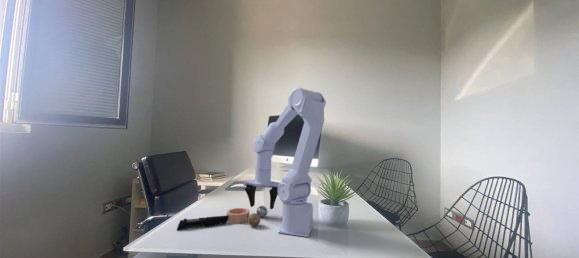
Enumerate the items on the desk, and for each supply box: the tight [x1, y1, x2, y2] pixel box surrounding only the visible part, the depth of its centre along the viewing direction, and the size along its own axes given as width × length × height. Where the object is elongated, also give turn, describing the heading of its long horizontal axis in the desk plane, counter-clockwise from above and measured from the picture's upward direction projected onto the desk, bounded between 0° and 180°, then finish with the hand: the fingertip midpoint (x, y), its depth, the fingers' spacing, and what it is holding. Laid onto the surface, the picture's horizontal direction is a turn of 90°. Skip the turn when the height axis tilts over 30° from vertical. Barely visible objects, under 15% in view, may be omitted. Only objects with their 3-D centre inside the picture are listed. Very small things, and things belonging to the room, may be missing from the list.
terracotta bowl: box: [225, 207, 251, 224], centre depth 81 cm, size 8×8×3 cm
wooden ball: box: [247, 212, 261, 228], centre depth 75 cm, size 4×4×4 cm
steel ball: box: [256, 205, 268, 218], centre depth 84 cm, size 4×4×4 cm
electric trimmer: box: [176, 214, 229, 232], centre depth 74 cm, size 4×16×3 cm, turn 112°
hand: (262, 207), depth 84 cm, fingers open, 7 cm apart
